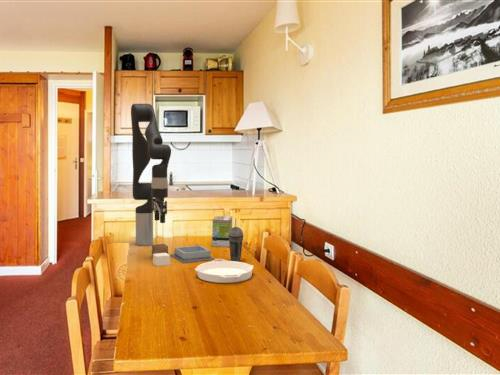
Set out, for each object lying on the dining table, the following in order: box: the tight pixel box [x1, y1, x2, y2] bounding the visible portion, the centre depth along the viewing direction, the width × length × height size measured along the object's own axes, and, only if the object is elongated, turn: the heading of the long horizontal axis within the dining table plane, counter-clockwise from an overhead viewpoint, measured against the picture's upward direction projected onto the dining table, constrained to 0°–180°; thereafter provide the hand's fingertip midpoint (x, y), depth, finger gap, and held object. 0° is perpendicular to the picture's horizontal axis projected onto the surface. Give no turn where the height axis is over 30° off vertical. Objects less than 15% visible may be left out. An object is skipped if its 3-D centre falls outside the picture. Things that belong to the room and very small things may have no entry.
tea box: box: [211, 215, 233, 248], centre depth 241 cm, size 15×10×15 cm
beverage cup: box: [228, 217, 245, 262], centre depth 205 cm, size 7×7×20 cm
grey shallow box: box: [169, 244, 216, 264], centre depth 210 cm, size 18×16×4 cm
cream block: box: [152, 253, 171, 267], centre depth 197 cm, size 6×6×4 cm
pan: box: [194, 258, 255, 284], centre depth 180 cm, size 24×27×4 cm
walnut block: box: [151, 243, 169, 259], centre depth 209 cm, size 6×6×6 cm
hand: (159, 221), depth 207 cm, fingers open, 8 cm apart
